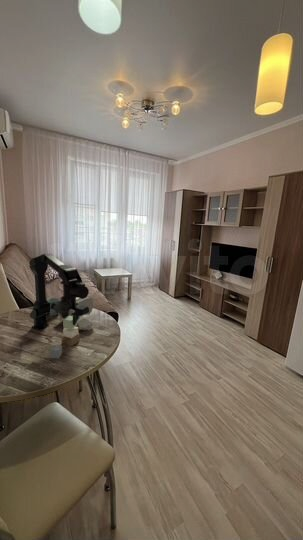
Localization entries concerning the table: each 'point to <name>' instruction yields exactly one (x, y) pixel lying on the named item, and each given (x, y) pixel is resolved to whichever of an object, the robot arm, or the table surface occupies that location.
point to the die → (85, 322)
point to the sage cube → (68, 322)
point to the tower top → (70, 332)
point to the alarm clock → (84, 302)
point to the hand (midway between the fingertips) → (70, 324)
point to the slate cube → (55, 351)
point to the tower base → (70, 340)
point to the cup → (50, 300)
